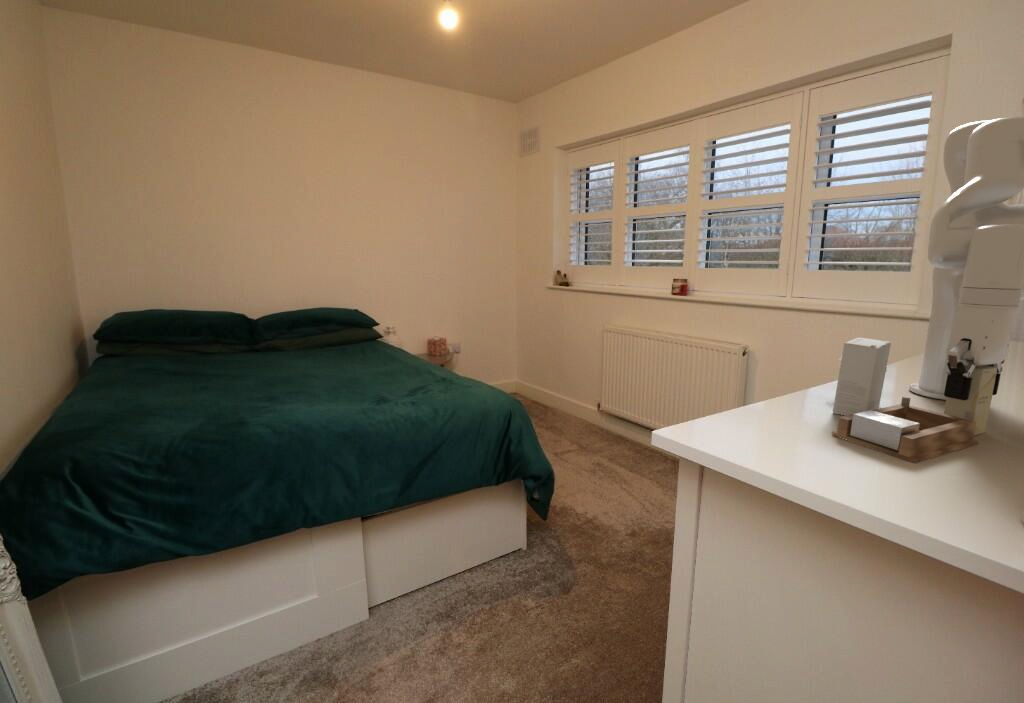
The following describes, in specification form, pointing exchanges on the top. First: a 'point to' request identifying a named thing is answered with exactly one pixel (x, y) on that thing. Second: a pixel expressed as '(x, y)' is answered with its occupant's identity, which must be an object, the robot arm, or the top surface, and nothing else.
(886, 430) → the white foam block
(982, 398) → the skincare box
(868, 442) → the holder
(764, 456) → the top surface
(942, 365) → the robot arm
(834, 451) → the top surface
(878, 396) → the skincare box
